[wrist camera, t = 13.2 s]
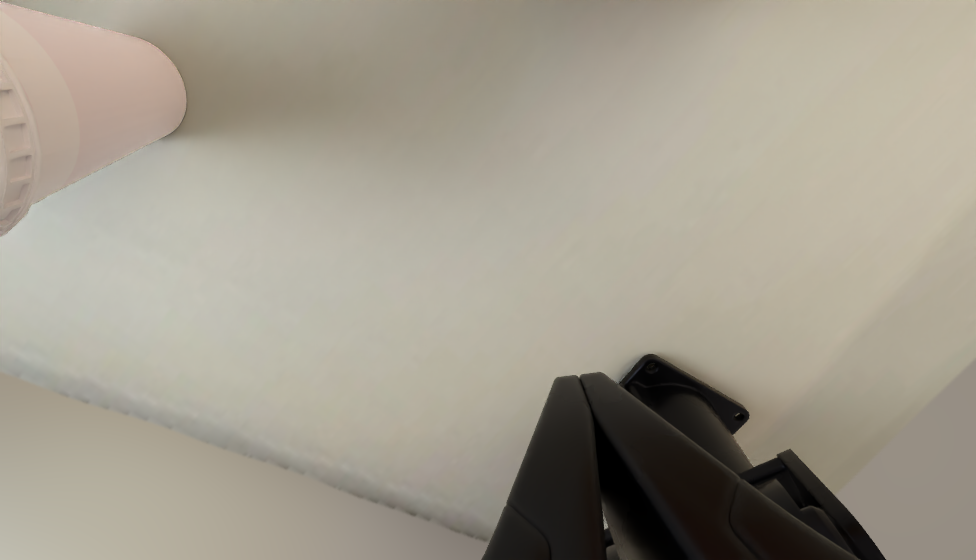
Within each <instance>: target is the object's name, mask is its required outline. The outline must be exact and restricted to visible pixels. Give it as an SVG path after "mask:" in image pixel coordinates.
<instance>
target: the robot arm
mask: <svg viewBox="0 0 976 560" xmlns="http://www.w3.org/2000/svg"><path fill="white" fill-rule="evenodd" d="M651 363H655V364H654V366H652V367H649V368H648V367H647V366H648V365H649V364H651ZM738 413H740V414H739V415H737V416H735V415H736V414H738ZM748 419H749V412H748V411H747V410H746V408H745V407H744V406H743V405H741V404H740V403H738V402H736V401H734V400H733V399H731V398H729V397H728V396H726V395H724V394H722V393H721V392H719V391H717V390H715V389H714V388H712V387H710V386H709V385H707V384H705V383H703V382H702V381H700V380H698V379H696V378H695V377H693V376H691V375H689V374H688V373H686V372H684V371H683V370H681V369H679V368H677V367H676V366H674V365H672V364H670V363H669V362H667V361H665V360H664V359H662V358H660V357H658V356H657V355H654V354H648V355H645V356H644V357H642V358H641V359H640V360H639V362H638V363H637V364H636V365H635V366H634V367H633V369H632V370H631V371H630V372H629V373H628V374H627V375H626V377H625V378H624V379H623V380H622V381H621V382H620V383H619V384H617V383H615V382H614V381H613V380H612V379H610V378H609V377H608V376H606V375H605V374H603V373H601V372H596V373H589V374H582V375H580V377H578V376H576V375H572V376H564V377H557V378H556V379H555V380H554V383H553V385H552V388H551V390H550V393H549V395H548V398H547V401H546V403H545V406H544V408H543V411H542V413H541V416H540V418H539V421H538V423H537V426H536V429H535V431H534V434H533V436H532V439H531V441H530V444H529V446H528V449H527V451H526V454H525V457H524V459H523V462H522V464H521V467H520V469H519V472H518V474H517V477H516V479H515V482H514V484H513V487H512V490H511V492H510V495H509V497H508V500H507V503H506V506H505V507H504V509H503V512H502V514H501V517H500V519H499V522H498V525H497V527H496V529H495V531H494V534H493V536H492V538H491V540H490V543H489V545H488V547H487V550H486V552H485V554H484V556H483V558H482V560H886V559H885V558H884V556H883V555H882V553H881V552H880V550H879V549H878V547H877V546H876V545H875V543H874V542H873V541H872V539H871V538H870V537H869V535H868V534H867V533H866V531H865V530H864V529H863V527H862V526H861V525H860V524H859V522H858V521H857V520H856V519H855V518H854V516H853V515H852V514H851V513H850V512H849V511H848V510H847V508H846V507H845V506H844V505H843V504H842V503H841V502H840V501H839V500H838V499H837V498H836V497H835V496H834V495H833V493H832V492H831V491H830V490H829V489H828V488H827V487H826V486H825V485H824V484H823V483H822V482H821V481H820V480H819V479H818V478H817V477H816V476H815V474H814V473H813V472H812V471H811V470H810V469H809V468H808V467H807V466H806V465H805V464H804V463H803V462H802V461H801V460H800V459H799V458H798V457H797V455H796V454H795V453H794V452H793V451H792V450H791V449H789V450H786V451H784V452H781V453H779V454H777V458H774V459H772V460H770V461H767V462H765V463H763V464H760V465H758V466H755V467H753V466H752V464H751V463H750V461H749V460H748V458H747V457H746V455H745V454H744V452H743V451H742V449H741V448H740V446H739V445H738V443H737V442H736V440H735V439H734V437H733V436H732V435H733V434H734V433H735V432H736V431H737V430H738V429H740V428H741V427H742V426H743V425H744V424H745V423H746V422H747V420H748ZM602 509H603V512H604V515H605V518H606V521H607V524H608V527H609V528H608V529H605V530H604V522H603V512H602Z"/></svg>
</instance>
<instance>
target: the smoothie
mask: <svg viewBox="0 0 976 560" xmlns="http://www.w3.org/2000/svg"><path fill="white" fill-rule="evenodd" d="M186 104H187V98H186V90H185V86H184V83H183V80H182V78H181V76H180V73H179V72H178V70H177V68H176V67H175V65H174V64H173V63H172V61H171V60H170V59H169V58H168V57H167V56H166V55H165V54H164V53H163V52H162V51H161V50H160V49H158V48H157V47H156V46H154V45H153V44H151V43H149V42H147V41H145V40H143V39H140V38H138V37H134V36H130V35H126V34H122V33H119V32H115V31H111V30H107V29H103V28H100V27H96V26H92V25H88V24H84V23H81V22H77V21H73V20H69V19H65V18H61V17H58V16H54V15H50V14H46V13H42V12H39V11H35V10H31V9H27V8H23V7H19V6H16V5H12V4H8V3H4V2H0V236H3V235H5V234H7V233H8V232H9V231H10V230H11V229H12V228H13V227H14V226H15V225H16V224H17V223H18V222H19V221H20V220H21V219H22V218H23V217H24V216H25V215H26V214H27V213H28V211H29V208H30V206H31V205H32V204H35V203H37V202H39V201H41V200H43V199H45V198H47V197H48V196H50V195H52V194H53V193H55V192H57V191H59V190H61V189H63V188H65V187H67V186H69V185H71V184H73V183H75V182H77V181H79V180H81V179H83V178H85V177H87V176H88V175H90V174H92V173H94V172H96V171H98V170H100V169H102V168H104V167H106V166H108V165H110V164H112V163H114V162H116V161H118V160H120V159H122V158H124V157H126V156H127V155H129V154H131V153H133V152H135V151H137V150H139V149H141V148H143V147H145V146H147V145H149V144H151V143H153V142H155V141H157V140H159V139H161V138H163V137H165V136H167V135H168V134H170V133H172V132H173V131H174V130H175V129H176V128H177V127H178V126H179V125H180V123H181V122H182V120H183V118H184V115H185V111H186Z"/></svg>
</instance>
